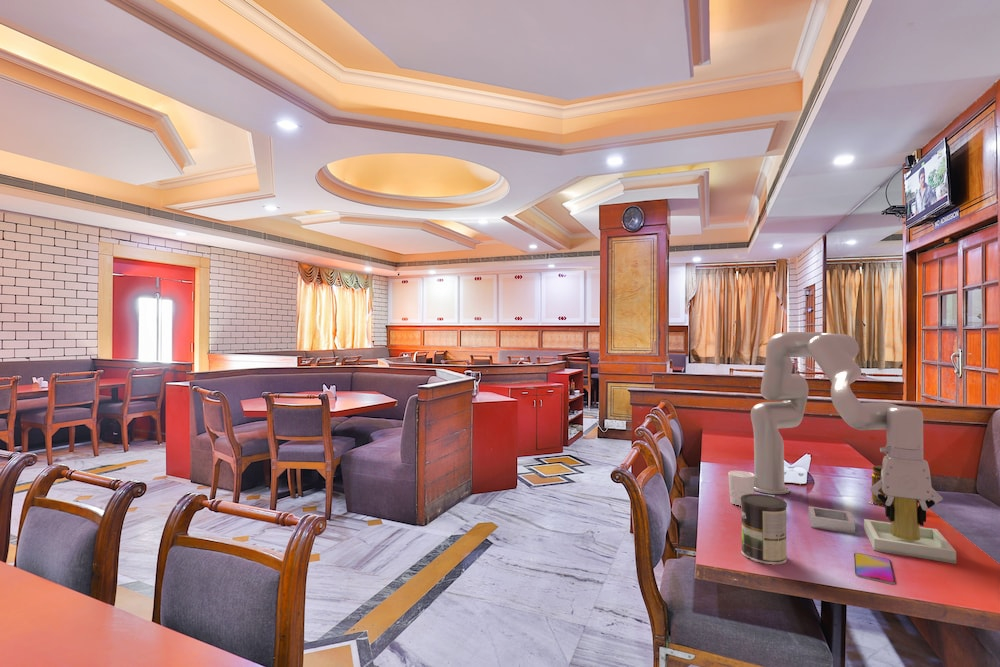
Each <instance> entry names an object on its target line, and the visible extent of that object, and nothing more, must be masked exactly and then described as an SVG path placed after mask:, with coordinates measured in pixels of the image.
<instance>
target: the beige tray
mask: <svg viewBox="0 0 1000 667" xmlns="http://www.w3.org/2000/svg"><path fill="white" fill-rule="evenodd" d="M863 526H864V527H863V530H864V532H865V534H866V536H867V539H868V540H869V543H870V544H871V546H872V548H873V550H874V551H876V552H882V553H888V554H893V555H900V556H906V557H913V558H917V559H924V560H930V561H931V560H932V561H937V562H943V563H949V564H954V565H956V564H957V551H956V550H955V548H953V546H952V545H951V544H950V543H949V541H948V540H947V539H946V538H945V537H944V535H943V534H942V533H941V532H940V531H939V530H938V529H937V528H931V527H924V526H919V531H920V540H918V541H910V540H904V539H900V538H897V537H895V536H893V535H892V534H891V522H890V521H889V522H888V521H882V520H873V519H867V518H866V519H865V518H864V519H863Z"/></svg>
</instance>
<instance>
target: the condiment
mask: <svg viewBox="0 0 1000 667" xmlns="http://www.w3.org/2000/svg"><path fill="white" fill-rule="evenodd" d="M881 469H882V465H874V466H873V467H872V470H873V471H872V474H871V487H872V486H873V485H874V484H876V483H877V482H878V481H879V480H881ZM878 491H879V492H880V493H881V494H882V495H884V496H885V495H886V494H885V493H884V492H883V490H882V489H881V488H880V489H879V490H878ZM871 501H872V502H873V503H875V504H878V505H877V506H879V505H883V506H882V507H885V503H884V502H883V501H881V500H880V499H879V498H878V497H877V496H876V495H875V494H874V493H872V492H871ZM873 503H871V502H870V501H868V502H867V504H872V505H874V504H873Z"/></svg>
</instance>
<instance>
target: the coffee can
mask: <svg viewBox="0 0 1000 667" xmlns="http://www.w3.org/2000/svg"><path fill="white" fill-rule="evenodd" d="M787 507H788V503H787V501H785V500H783V499H782V498H780V497H777V496H773V495H770V494H769V495H767V494H764V493H763V494H762V493H754V494H746V495H743V496H741V507H740V508H741V551H740V552H741V554H742V555H743V557H745V556H746V557H747V558H746V557H745V558H746V559H748V558H750V559H751V560H750V559H749V560H750V561H752V560H754V561H753V562H755V561H757V562H756V563H758V562H760V563H759V564H762V563H764V565H769V564H772V565H773V566H774V565H775V566H777V565H778V564H779V565H783V563H784V564H786V562H787V561H788V558H787V556H788V555H787ZM772 565H771V566H772ZM779 565H778V566H779Z"/></svg>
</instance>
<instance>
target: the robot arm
mask: <svg viewBox="0 0 1000 667" xmlns="http://www.w3.org/2000/svg"><path fill="white" fill-rule="evenodd" d="M766 343H767V344H766V350H765V354H766V356H765V365H764V370H763V374H762V379H761V384H760V394H761V396H762V398H764V399H765V400H768V401H762V402H759V403H757V404H755V405H753V406H752V407H751V409H750V410H751V411H750V420H751V423H752V430H753V453H754V454H753V455H754V456H753V457H754V460H753V461H754V465H753V466H754V468H753V472H754V473H753V474H754V475H755V480H754V492H755V491H756V492H758V493H761V494H762V493H763V494H769V495H785V494H786V493H787V494H789V493H790V488H789V487H788V486H787V485H785V445H784V444H785V443H784V439H783V436H782V434H781V433H780V431H779V429H788V428H789V429H791V428H795V427H798V426H799V425H800V424H801V423H802V421H803V419H804V413H805V410H806V406H807V402H808V397H809V390H810V389H809V384H808V381H807V380H806V378H805V377H803V375H800V374H798V373H792V372H793V367H794V365H793V361H792V358H812V359H814V361H815V362H816V364H817V365H818V367H819V368H820V369H821V370H822V372H823V374H824V375H826V377H827V378H828V380H829V381H830V382H831V386H830V397H831V403H832V405H833V408H835V410H836V412H837V413H838V414H839V415H840V417H841V419H842V420H843V421H844V422H845V423H846V424H847V425H848V426H849V427H851V428H853V429H854V430H858V431H872V430H873V431H875V430H876V431H878V430H879V431H881V430H882V431H883V430H886V444H885V446H882V447H881V446H880V447H879V451H880V453H884V454H885V455H884V456H883V459H882V463H881V464H882V465H881V466H882V469H881V480H879V481H878V482H877V483H876V484H874V485H873V486H872V485H871V487H870V488H869V491H870V492H871V494H872V493H874V494H875V495H876V496H877V497H878V498H879V499H880V500H881V501H883V502H884V503H885V506H884V512H885V514H884V515H885V517H886V518H887V519H888V521H889V522H891V521H892V522H893V521H894V508H893V506H892V501H893V499H894V497H899V498H910V499H915V500H918V518H919V526H920V527H924V523H926V522H927V511H928V510H929V509H931V507H933V506H935V504H938V503H939V502H941V501H943V499H944V498H943V496H941V495H940V493H938V491H937V490H935V489H934V488H933V486H932V478H931V471H930V466H929V463H928V461H927V460H926V459H924V414H923V411H922V410H921V409H919V408H917V407H911V406H903V405H897V404H895V403H891V402H878V401H877V402H861V401H860V400H859V399H858V397H856V395H855V394H854V392H853V391H852V389H851V386H850V385H852V384H853V383H854V382H855V381H857V380H858V379H859V377H861V375H862V368H861V367H860V366H859V365H858V364H857V362H856V361H855V360H854V359H855V358H856V357H857V356H858V355H859V351H860V346H859V343H858V342H857V340H856V339H855V338H854V337H853V336H851V335H849V334H845V333H830V332H829V333H828V332H816V331H814V332H813V331H812V332H811V331H808V332H804V331H803V332H802V331H787V332H784V331H783V332H779V333H775V334H774V335H772V336H771V337H770V338H768V341H767V342H766ZM880 488H881V489H882V490H883V492H884V493H885V494H886V495H885V496H884V495H882V494H881V493H880V492H879V491H878V490H879V489H880ZM787 494H786V495H787Z"/></svg>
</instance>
